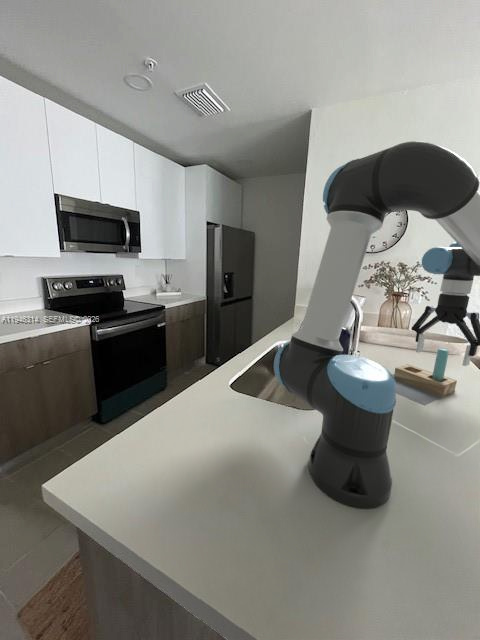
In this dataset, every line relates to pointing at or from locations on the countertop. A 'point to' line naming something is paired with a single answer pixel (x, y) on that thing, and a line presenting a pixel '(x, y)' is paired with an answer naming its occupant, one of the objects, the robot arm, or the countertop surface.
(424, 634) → the countertop surface
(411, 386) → the mat
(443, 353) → the peg
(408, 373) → the block
